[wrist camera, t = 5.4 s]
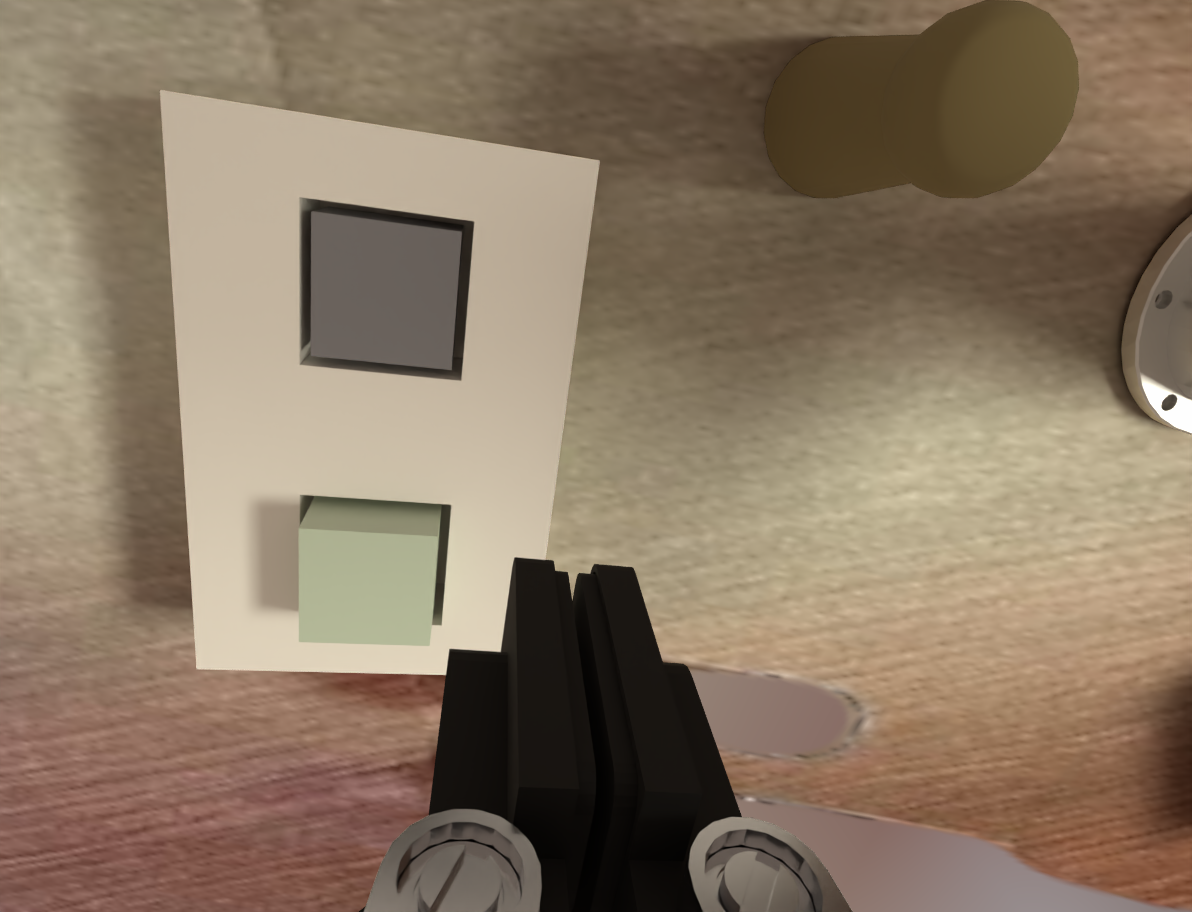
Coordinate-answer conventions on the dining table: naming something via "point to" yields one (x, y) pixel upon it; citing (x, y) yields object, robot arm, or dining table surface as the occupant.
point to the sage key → (368, 571)
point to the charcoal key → (384, 287)
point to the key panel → (362, 369)
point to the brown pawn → (926, 105)
